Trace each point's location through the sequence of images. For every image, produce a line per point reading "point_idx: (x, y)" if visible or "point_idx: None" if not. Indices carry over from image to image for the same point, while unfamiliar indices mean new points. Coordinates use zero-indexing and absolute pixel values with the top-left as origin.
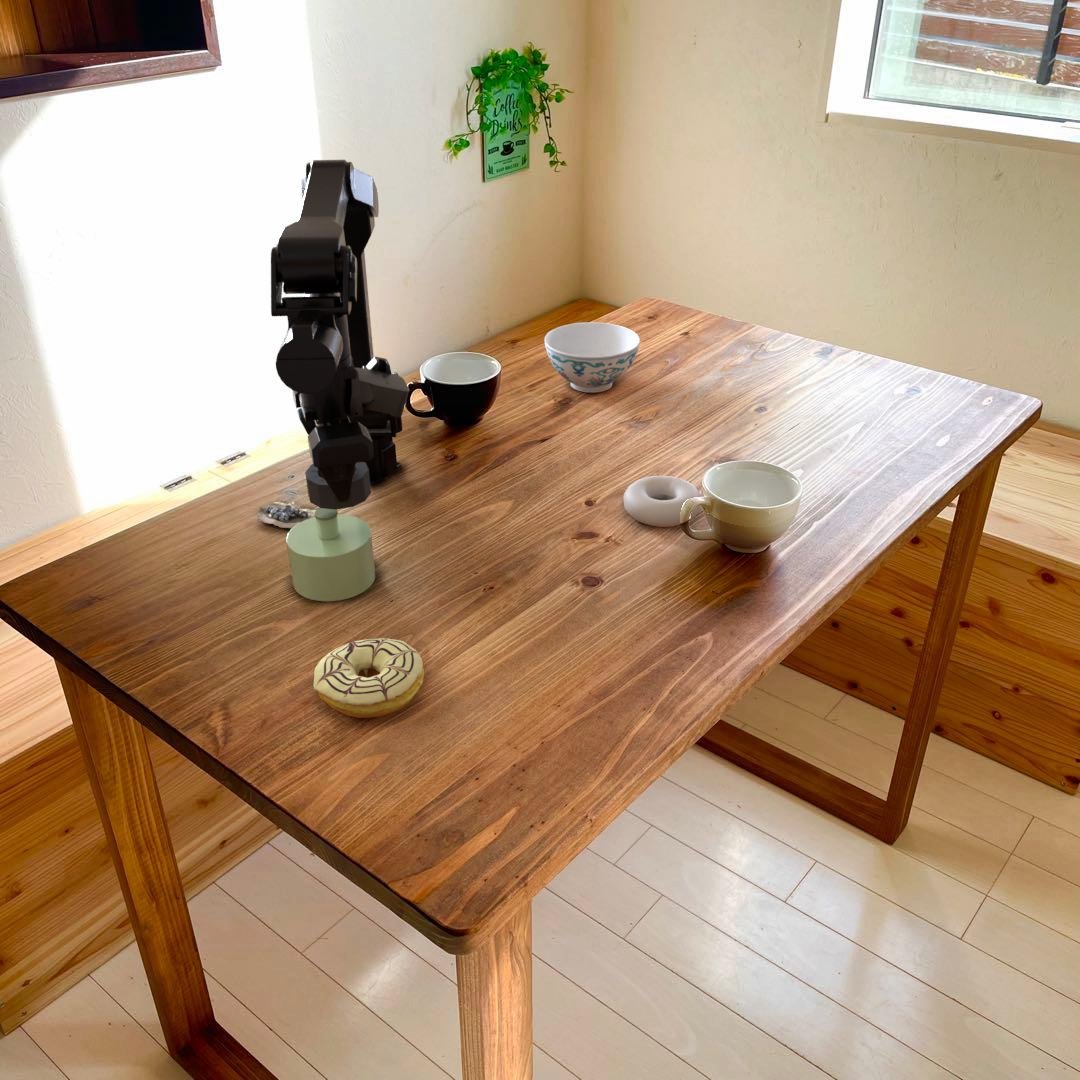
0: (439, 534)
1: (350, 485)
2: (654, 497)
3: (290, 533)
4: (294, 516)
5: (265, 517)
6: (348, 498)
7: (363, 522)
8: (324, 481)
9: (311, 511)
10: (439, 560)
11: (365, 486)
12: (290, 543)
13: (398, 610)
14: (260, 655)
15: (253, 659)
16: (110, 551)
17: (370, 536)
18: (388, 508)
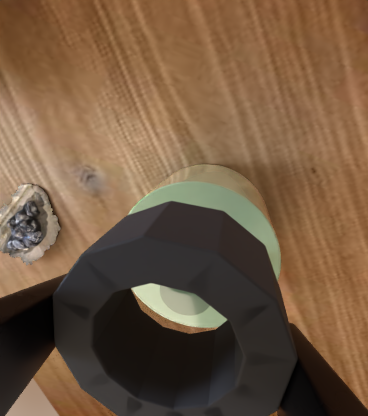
0: (151, 8)
1: (343, 384)
2: None
3: (160, 311)
4: (35, 222)
5: (28, 254)
6: (299, 330)
7: (180, 187)
8: (225, 413)
9: (21, 191)
10: (238, 43)
11: (261, 261)
12: (193, 323)
13: (346, 171)
14: (327, 354)
15: (330, 361)
16: (50, 389)
17: (239, 193)
18: (37, 74)
